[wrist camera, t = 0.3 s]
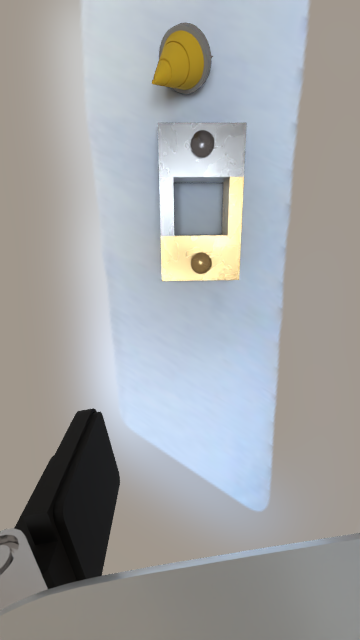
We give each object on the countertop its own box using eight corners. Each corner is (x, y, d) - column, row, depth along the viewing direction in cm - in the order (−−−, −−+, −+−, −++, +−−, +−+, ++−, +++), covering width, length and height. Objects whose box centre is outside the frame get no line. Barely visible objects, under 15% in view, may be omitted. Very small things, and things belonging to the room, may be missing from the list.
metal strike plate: (159, 134, 34) (157, 120, 30) (237, 134, 34) (247, 120, 30) (162, 275, 39) (161, 281, 34) (232, 274, 39) (240, 280, 34)
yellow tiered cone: (220, 83, 33) (181, 120, 28) (177, 80, 35) (132, 113, 30) (223, 15, 29) (176, 44, 24) (173, 15, 31) (120, 42, 26)
